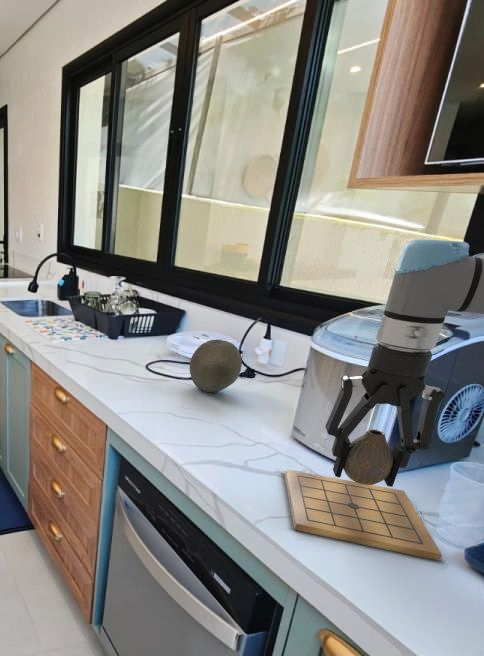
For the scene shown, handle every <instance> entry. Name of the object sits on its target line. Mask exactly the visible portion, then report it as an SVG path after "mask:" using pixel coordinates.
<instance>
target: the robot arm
mask: <svg viewBox="0 0 484 656" xmlns="http://www.w3.org/2000/svg"><path fill="white" fill-rule="evenodd" d="M469 251H470V244H469V243H468V242H467V241H458V240H457V241H456V240H443V239H423V238H421V239H420V238H419V239H417V238H416V239H413V240H410V241H409V242H407V244H405V245H404V247H403V250H402V253H401V255H400V258H399V262H398V264H397V267H396V268H395V270H394V275H393V278H392V282H391V286H390V289H389V294H388V295H387V300H386V304H385V307H384V311H383V314H382V317H381V321H380V324H379V326H378V330H377V333H376V337H375V340H376V341H377V343H375V344H374V345H373V347H372V349H371V350H372V351H371V354H370V357H369V361H368V363H367V368H366V370H364V372H363V373H362V374H361V376H349V375H347V374H345V375H342V376H341V378H340V390H339V392H338V395H337V398H336V400H335V402H334V405H333V407H332V409H331V412H330V414H329V416H328V418H327V421H326V423H325V427H324V428H325V430H326V433H327V434H328V435H329V436H332V437H334V440H333V444H332V447H331V453H332V456H333V457H336V458H335V460H334V464H333V467H332V471H333V474H334V476H335V477H334V478H341V477H342V473H343V471H344V469H343V467H344V464H345V460H346V457H347V454H348V450H349V447H350V444H351V442H352V441H350V438H349V437H350V435H351V434H352V433H354V430H356V429H357V427H358V425H360V423H361V422H363V421H362V420H364V418H365V417H366V416H367V415H368V413H369V412H370V411H371V410H372V409H374V408H375V407H376V405H390V406H393V407H395V408H396V414H397V421H398V423H397V424H398V430H399V431H398V432H399V438H400V444H397V443H395V444H394V445H393V448H392V453H393V465H392V468H391V471H390V473H389V474H388V476H387V477H386V478H385V479H384V480H383V481H384V483H385V485H386V487H389V488H393V487H394V484H395V481H396V478H397V476H398V473H399V470H400V469H405V468H406V467H407V466H408V464H409V461H410V458H411V456H412V454H414V453H416V451H417V450H421V451H426V450H428V449H429V448H430V445H431V439H432V434H433V428H434V424H435V421H436V415H437V411H438V406H439V405H440V403H441V402H442V400H443V399H444V398H445V395H446V394H445V392H444V391H443V390H442V389H441V388H440V387H438V386H435V385H433V386H430V385H427V384H426V382H425V381H426V380H425V377H426V376H427V373H428V369H429V367H430V364H431V361H432V357H433V353H432V351H431V350H433V349H435V348H436V346H437V343H438V340H439V338H440V335H441V331H442V328H443V325H444V323H445V320H446V317H447V314H448V312H449V311H450V312H451V311H452V312H458V313H472V314H480V315H484V252H482V253H478V254H475V255H472V256H471V255H470V252H469ZM360 385H362V386H363V388H364V390H365V392H364V393H363V395H362V396H361V398H360V400H359V402H358V403H357V404H356V405H355V407H354V408H353V409H352V411H351V412H350V413H349V414H348V416H346V418H345V419H344V421H343V422H342V423H341V421H342V419H343V417H344V414H345V413H346V410H347V408H348V406H349V403H350V402H351V399H352V396H353V392H354V391H356V390H357V389H358V388H359V386H360ZM420 393H422V395H421V397H422V398H423V400H422V403H421V408H420V413H419V418H418V424H417V429H416V434H415V438H414V432H413V426H412V416H411V411H412V410H411V402H410V401H411V400H412V399H414V398H415V397H417V396H418V395H419V394H420Z"/></svg>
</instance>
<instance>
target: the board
mask: <svg viewBox="0 0 484 656" xmlns="http://www.w3.org/2000/svg"><path fill="white" fill-rule="evenodd" d="M284 479H285V484H286V491H287V496H288V501H289V502H288V503H289V507H290V508H289V509H290V513H291V519H292V524H293V530H294V531H298V532H303V533H307V534H313V535H317V536H320V537H321V536H322V537H326V538H331V539H336V540H340V541H345V542H349V543H354V544H357V545H362V546H363V545H364V546H369V547H373V548H377V549H382V550H386V551H392V552H397V553H400V554H405V555H410V556H415V557H419V558H423V559H429V560H433V561H438V562H440V560H441V558H442V556H443V554H442V552H441V550H440V549H439V547H438V545H437V544H436V542H435V541H434V539H433V537H432V535H431V533H430V532H429V530H428V529H427V527H426V525H425V524H424V522H423V521H422V519H421V517H420V515H419V514H418V512H417V511H416V508H415V507H414V505H413V503H412V502H411V500H410V498H409V497H408V495H407V493H406V492H405V490H403V489H398V488H393V487H387V486H380V485H376V484H373V485H364V484H360V483H357V482H355V481H353V480H346V479H341V478H337V477H330V476H325V475H319V474H313V473H307V472H303V471H298V470H292V469H285V471H284Z"/></svg>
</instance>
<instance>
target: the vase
mask: <svg viewBox="0 0 484 656" xmlns="http://www.w3.org/2000/svg"><path fill="white" fill-rule="evenodd" d="M350 442H351V444H350V447H349V450H348V454H347V457H346V460H345V464H344V467H343V471H344V473H345V474H346V476H347V477H348V478H349V480H350V481H353V482H357V483H360V484H364V485H377V484H379V483H381V482H383V481H384V479H385V478H386V477H387V476H388V474H389V473H390V471H391V468H392V465H393V453H392V451H393V449H392V448H391V445H390V444H389V442H388V441H387V438H386V434H385V432H383V431H381V430H378V429H367V431H366V432H365V433H364V434H362V435H361V436H359V437H357V438H355V439H354V440H352V441H350Z"/></svg>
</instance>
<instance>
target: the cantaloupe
mask: <svg viewBox="0 0 484 656" xmlns="http://www.w3.org/2000/svg"><path fill="white" fill-rule="evenodd" d="M242 364H243V359H242V355H241V353H240V350H239V349H238V347H237V346H236V345H235V344H233V343H232V342H230V341H228V340H223V339H210V340H207V341H205V342H203V343H202V344H200V345H199V346H198V347H197V348H196V350H194V352H193V354H192V355H191V358H190V361H189V374H190V379H191V380H192V383H193V384H194V385H195V386H196V388H198V389H200V390H201V391H204V392H205V393H206V392H207V393H217V392H221V391H222V390H225V389H227V388H228V387H230V386H231V385H233V384H234V383H235V382H236V381H237V380H238V378H239V376H240V373H241V371H242V366H243V365H242Z"/></svg>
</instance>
